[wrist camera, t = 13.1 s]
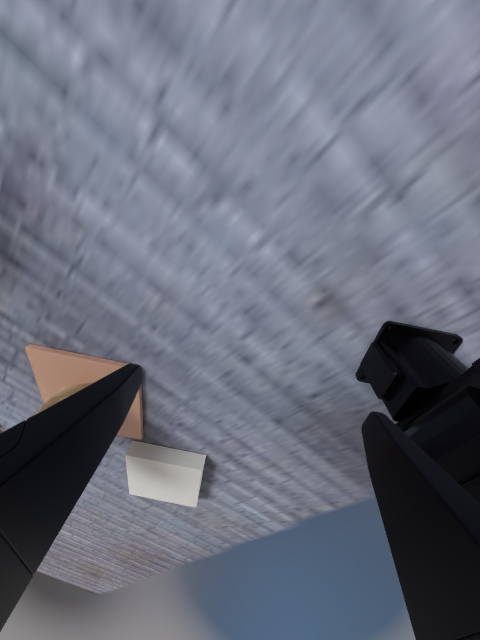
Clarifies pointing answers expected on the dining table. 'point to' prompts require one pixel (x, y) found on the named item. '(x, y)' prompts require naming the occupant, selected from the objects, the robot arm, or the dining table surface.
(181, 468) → the white square tile
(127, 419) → the terracotta tile
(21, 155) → the dining table surface
